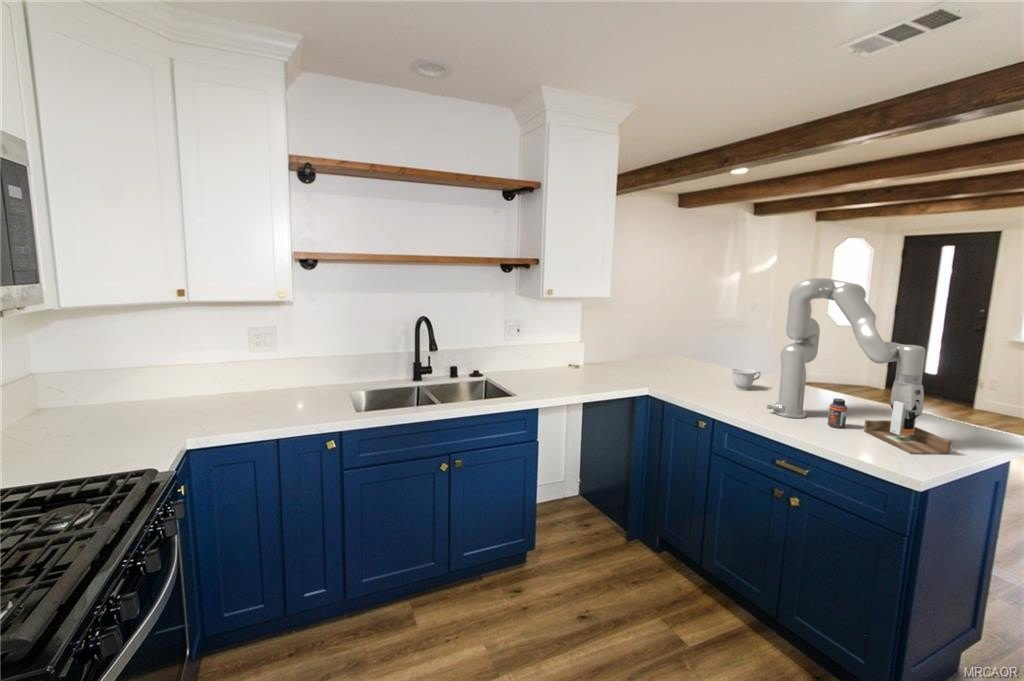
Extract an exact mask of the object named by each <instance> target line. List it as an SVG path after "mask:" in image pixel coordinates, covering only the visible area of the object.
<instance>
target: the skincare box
mask: <svg viewBox="0 0 1024 681" xmlns="http://www.w3.org/2000/svg"><path fill="white" fill-rule="evenodd" d="M892 411H893V412H891V419H890V420H891V426H890V432H892V433H895V434H897V435H914V429H915V427H916V421H917V420H916V419H917V418H916V419H915V420H914V428H913V429H904V428H903V427H904V419H905V418H906V410H905V409H904V404H902V403H900V402H897V401H894V404H893V410H892ZM910 414H912V412H910Z"/></svg>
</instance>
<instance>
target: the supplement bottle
mask: <svg viewBox="0 0 1024 681" xmlns="http://www.w3.org/2000/svg"><path fill="white" fill-rule="evenodd" d="M832 400H833V401H832V403H830V405H829V408H828V409H829V410H828V416H827V426H829V427H831V428H835V429H844V428H845V427H846V421H847V415H848V414H847V413H848V412H847V411H848V406H847V404H846V400H845V399H842V398H833V399H832Z"/></svg>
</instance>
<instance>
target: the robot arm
mask: <svg viewBox="0 0 1024 681" xmlns="http://www.w3.org/2000/svg"><path fill="white" fill-rule="evenodd" d="M866 296H867V292H866V290H865V288H864V287H863V286H862V285H860V284H858V283H853V282H847V281H843V280H838V279H837V280H836V279H833V278H826V277H823V278H822V277H821V278H820V277H819V278H814V277H813V278H808V279H804V280H802V281H800V282H798V283H797V284H795V285H794V286H793V288H792V289H791V291H790V293H789V298H788V299H789V300H788V307H787V308H788V309H787V316H786V317H787V318H786V326H785V327H786V328H785V333H786V335H787V338H789V339H790V340H792V341H794V343H793V342H792V343H789V344H786V345H785V346H784V347H783V348H782V349H781V352H780V355H779V357H780V380H779V381H780V382H779V391H778V392H779V393H778V401H775V403H774V404H767V405H766V409H767V410H772V411H773V413H774V414H775V415H778V416H781V417H784V418H791V419H792V418H793V419H802V418H806V417H807V412H805V411H804V401H805V393H806V392H805V390H806V380H807V369H806V364H807V363H811V362H812V361H814V360H815V359H816V357H817V356H818V351H819V342H820V333H821V330H820V324H819V323H818V321H817V320H816V319H814V318H812V304H811V302H812V300H817V299H819V300H820V299H826V300H830V301H834V302H835V304H836V306H837V307H838V308H839V309H840V311H841V312H842V314H844V317H845V318H846V320H848V322H849V324H850V326H851V327H852V332H853V335H854V337H855V339H856V341H857V344H858V346H859V347H860V348H861V350H862V351H863V353H864V354H865V355H866V357H867V358H868V359H869V360H870V361H871V362H873V363H874V364H875V363H876V364H879V365H880V364H881V365H883V364H887V363H889V362H890V363H891V362H892V363H893V362H896V370H895V379H894V381H893V383H892V384H893V385H892V388H891V393H890V400H889V401H888V404H889V405H890V408H891V410H892V412H893V404H894V401H897V402H900V403H902V404H904V409H905V410H906V418H905V419H904V427H903V428H904V429H913V428H914V420H915V419H917V418H919V416H922V415H923V414H924V413H923V409H924V404H925V403H924V398H925V397H924V396H925V393H924V386H923V384H922V383H923V373H924V367H925V366H924V365H925V359H926V358H925V357H926V349H925V347H923V346H921V345H916V344H903V343H898V342H894V341H884V340H883V339H882V337H881V336H880V333H879V332H878V330H877V327H876V320H877V316H876V313H875V311H874V310H873V309H872V308H871V306H870V305H869V304H868V303H867V301H866V300H865V299H866ZM892 412H891V413H892ZM910 412H912V414H910Z"/></svg>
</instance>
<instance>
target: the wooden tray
mask: <svg viewBox="0 0 1024 681" xmlns="http://www.w3.org/2000/svg"><path fill="white" fill-rule="evenodd" d="M890 426H891V419H890V420H886V419H885V420H884V419H883V420H878V419H875V420H873V419H871V420H867V419H865V421H864V428H863V429H864V430H863V432H865V433H866V434H869V435H870V436H873V437H875V438H877V439H879V440H881V441H883V442H885V443H887V444H889V445H891V446H893V447H895V448H897V449H899V450H901V451H904V452H905V453H908V454H910V455H950V454H951V449H952V443H953V442H952V441H951V440H949V439H946V438H943V437H942V436H939V435H936V434H934V433H931V432H930V431H927V430H923V429H922V428H919V427H917V426H915V429H914V435H897V434H895V433H892V432H890Z"/></svg>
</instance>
